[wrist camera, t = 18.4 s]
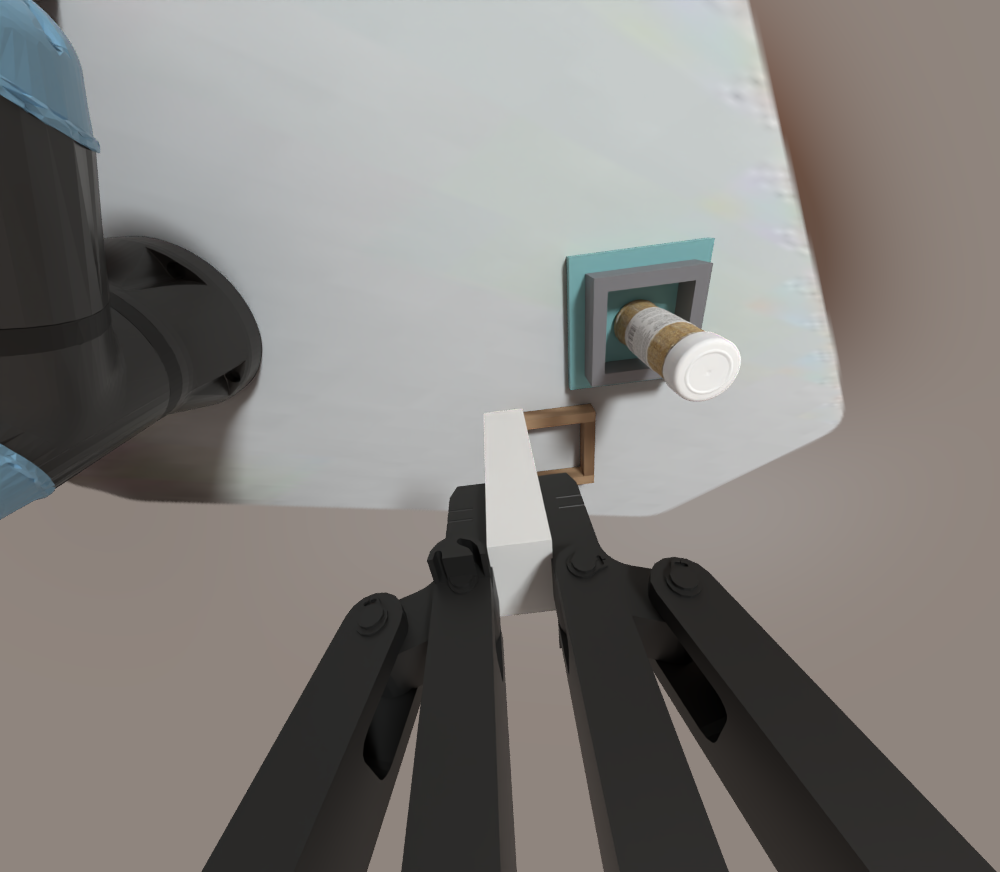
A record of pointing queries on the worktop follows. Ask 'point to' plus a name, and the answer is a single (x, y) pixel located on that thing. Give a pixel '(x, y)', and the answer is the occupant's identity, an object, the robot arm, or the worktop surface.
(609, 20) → the worktop surface
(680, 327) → the sprinkles bottle
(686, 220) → the worktop surface
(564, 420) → the stand collar
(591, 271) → the plate
